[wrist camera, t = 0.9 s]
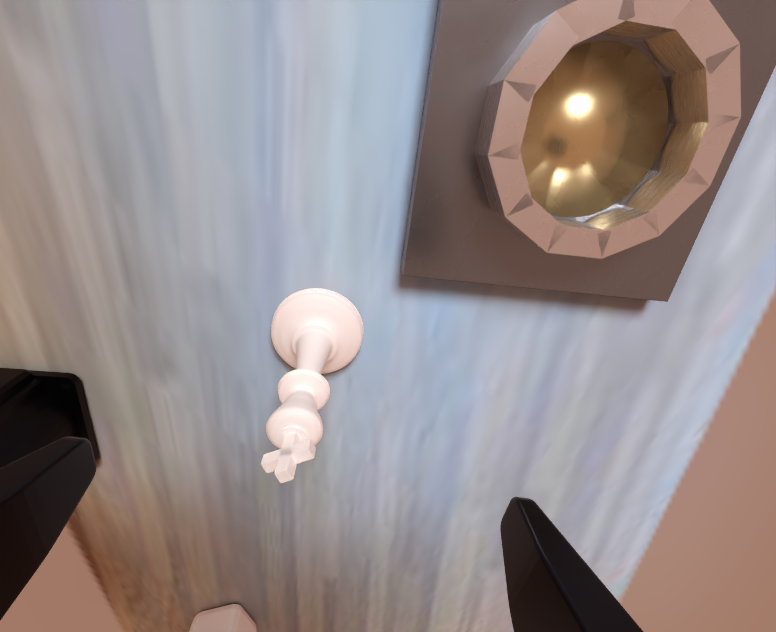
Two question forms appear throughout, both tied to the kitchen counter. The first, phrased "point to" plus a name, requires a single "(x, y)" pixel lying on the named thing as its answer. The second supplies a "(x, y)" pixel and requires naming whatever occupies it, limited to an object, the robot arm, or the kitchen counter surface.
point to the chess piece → (307, 371)
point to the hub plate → (580, 138)
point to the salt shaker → (223, 620)
